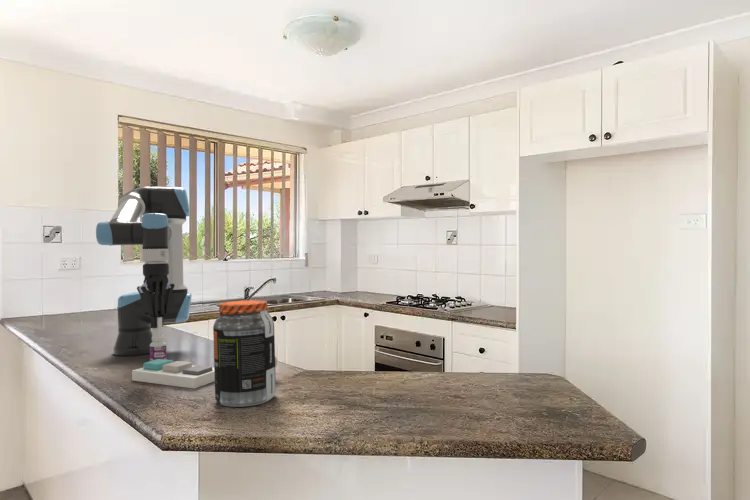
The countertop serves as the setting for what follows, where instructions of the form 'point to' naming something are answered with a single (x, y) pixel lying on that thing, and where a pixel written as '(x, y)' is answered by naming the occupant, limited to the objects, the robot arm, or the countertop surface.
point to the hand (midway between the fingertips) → (157, 338)
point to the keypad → (173, 378)
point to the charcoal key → (197, 370)
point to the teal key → (156, 364)
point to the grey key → (176, 366)
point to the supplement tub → (244, 354)
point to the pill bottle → (158, 349)
